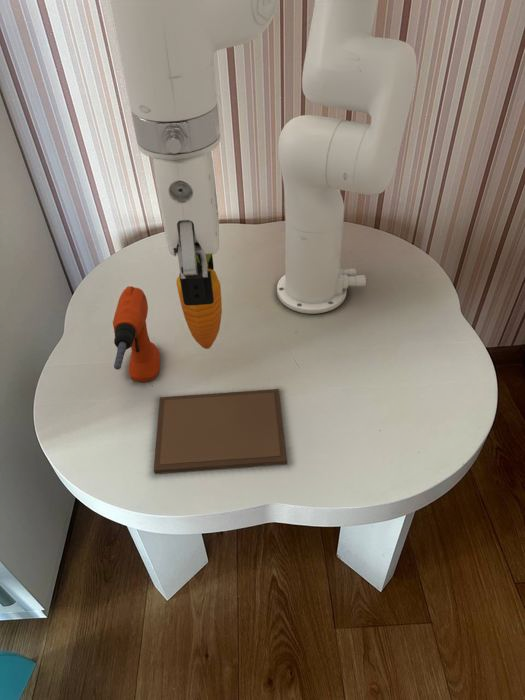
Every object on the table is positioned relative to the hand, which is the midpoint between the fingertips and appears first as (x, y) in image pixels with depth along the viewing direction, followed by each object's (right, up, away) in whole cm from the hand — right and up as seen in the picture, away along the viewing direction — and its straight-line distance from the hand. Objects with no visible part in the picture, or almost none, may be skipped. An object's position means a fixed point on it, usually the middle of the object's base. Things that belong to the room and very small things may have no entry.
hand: (199, 285), depth 63 cm
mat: (+1, -19, +18) cm, 26 cm away
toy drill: (-12, -13, +25) cm, 30 cm away
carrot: (0, -7, +7) cm, 10 cm away
